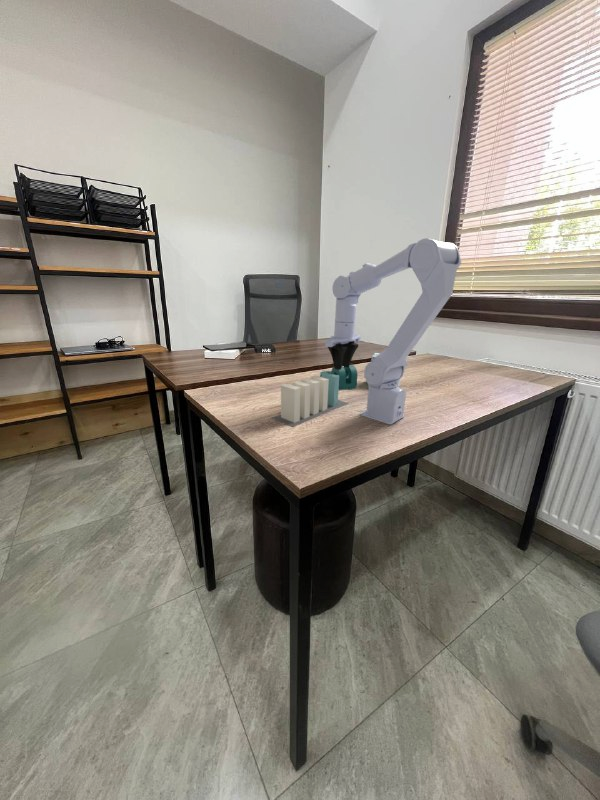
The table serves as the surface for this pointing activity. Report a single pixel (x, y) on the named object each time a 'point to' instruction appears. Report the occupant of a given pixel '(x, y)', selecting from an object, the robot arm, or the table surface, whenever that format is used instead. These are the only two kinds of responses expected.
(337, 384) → the tile
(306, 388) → the tile
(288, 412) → the tile
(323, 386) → the tile
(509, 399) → the table surface
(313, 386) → the tile
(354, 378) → the bracket
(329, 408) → the mat
